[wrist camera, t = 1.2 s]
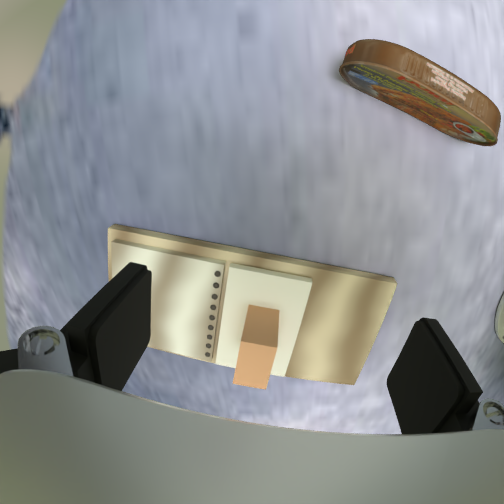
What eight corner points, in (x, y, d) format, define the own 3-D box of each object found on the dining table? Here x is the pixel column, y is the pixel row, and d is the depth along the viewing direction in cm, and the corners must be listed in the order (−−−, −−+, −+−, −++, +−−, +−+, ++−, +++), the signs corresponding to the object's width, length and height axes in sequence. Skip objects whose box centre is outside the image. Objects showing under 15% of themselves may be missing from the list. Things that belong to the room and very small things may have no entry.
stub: (311, 278, 30) (317, 317, 24) (284, 370, 34) (283, 416, 28) (230, 262, 30) (216, 298, 24) (217, 358, 35) (203, 402, 28)
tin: (331, 79, 25) (349, 59, 17) (341, 51, 24) (361, 22, 16) (464, 146, 25) (513, 154, 18) (472, 119, 24) (521, 121, 16)
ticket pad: (393, 277, 31) (400, 288, 29) (352, 376, 36) (355, 391, 34) (114, 224, 32) (102, 231, 30) (117, 329, 37) (108, 341, 35)
